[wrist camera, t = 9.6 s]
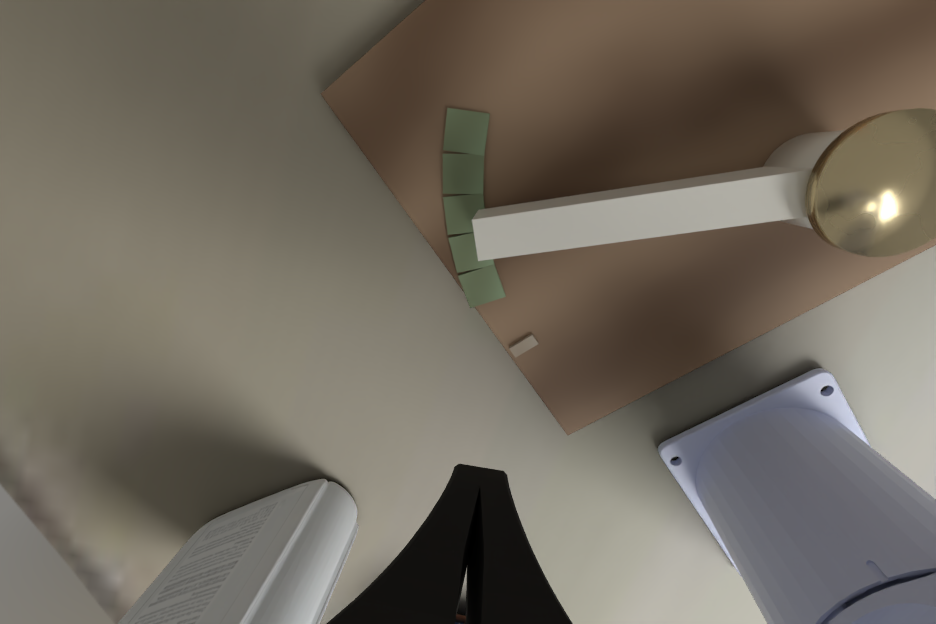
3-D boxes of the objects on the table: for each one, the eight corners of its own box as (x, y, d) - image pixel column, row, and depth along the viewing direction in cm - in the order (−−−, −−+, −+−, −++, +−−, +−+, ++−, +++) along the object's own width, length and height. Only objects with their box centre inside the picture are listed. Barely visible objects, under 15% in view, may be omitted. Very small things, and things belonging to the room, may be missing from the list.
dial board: (1097, 146, 16) (1134, 146, 15) (563, 427, 22) (565, 439, 21) (916, -425, 12) (949, -474, 11) (326, 98, 18) (315, 95, 17)
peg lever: (871, 111, 16) (993, 95, 12) (858, 226, 17) (964, 247, 13) (474, 175, 18) (462, 180, 14) (488, 274, 19) (481, 305, 15)
